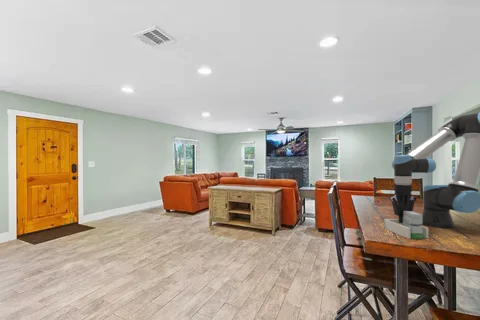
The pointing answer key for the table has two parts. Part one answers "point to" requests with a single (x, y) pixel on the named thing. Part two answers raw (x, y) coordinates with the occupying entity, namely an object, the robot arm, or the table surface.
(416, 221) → the ink box
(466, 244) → the table surface
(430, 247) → the table surface
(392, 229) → the white u-shaped frame
